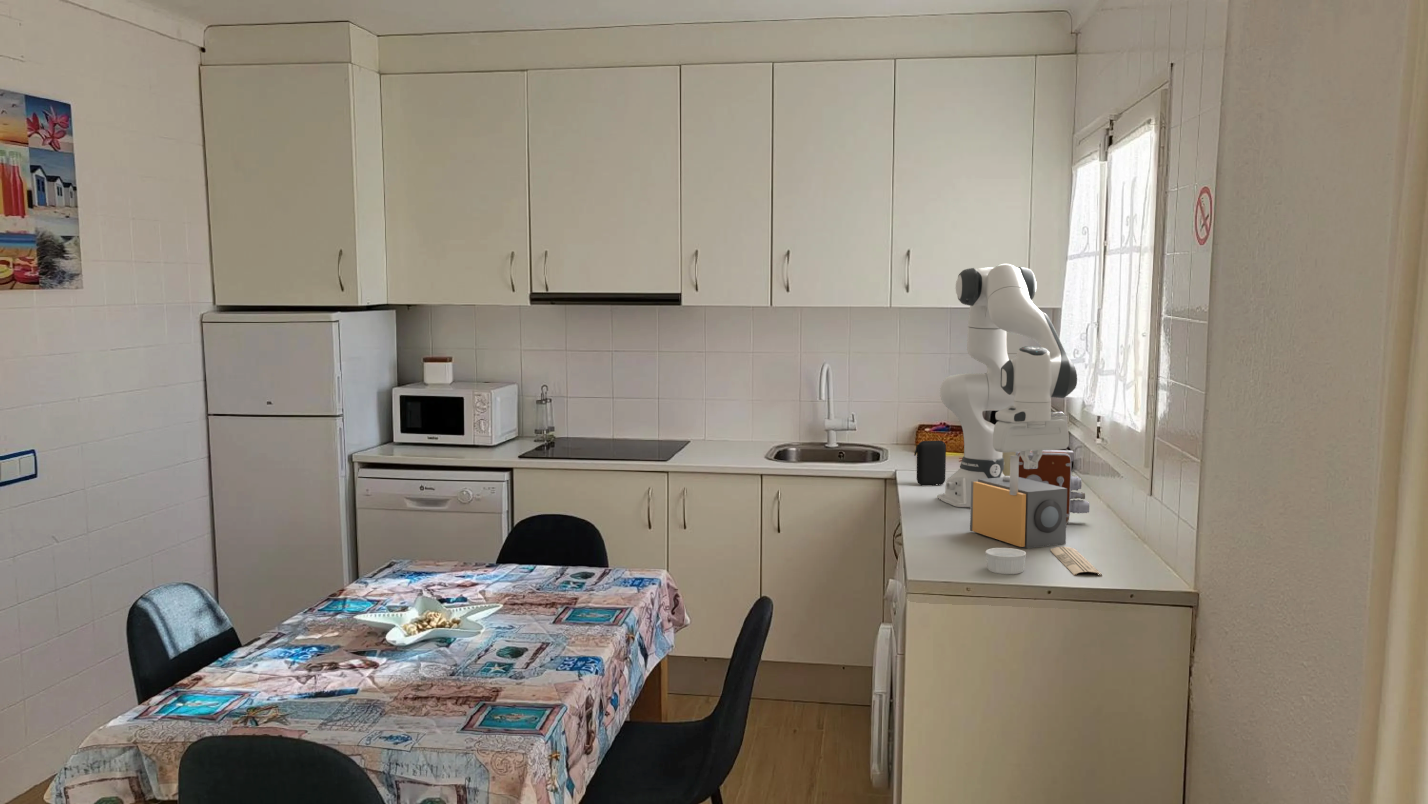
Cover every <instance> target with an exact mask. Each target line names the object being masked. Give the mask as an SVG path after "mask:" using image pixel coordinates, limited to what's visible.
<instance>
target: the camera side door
mask: <svg viewBox="0 0 1428 804" xmlns="http://www.w3.org/2000/svg"><path fill="white" fill-rule="evenodd" d="M1018 474H1019V456H1010V490H1008V489H1004V488H1000V487H996V486H992V485H988V484H984V483H981V482H977V481H971V507H970V511H969V513H970V516H969V517H970V518H969V520H970V521H969V531H971V532H973V533H977V534H980V535H983V536H986V537H989V538H992V539H995V540H999V541H1002V542H1004V543H1007V544H1011V545H1013V546H1016V547H1019V548H1024V547H1025V515H1026V494H1023V493H1019V492H1018Z"/></svg>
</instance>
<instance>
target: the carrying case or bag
mask: <svg viewBox="0 0 1428 804" xmlns="http://www.w3.org/2000/svg"><path fill="white" fill-rule="evenodd" d="M946 445H947V444H946V443H945V441H943V440H922V441H920V442H919V443H918V444H917V445H916V447H915V449H914V454H913V456H914V457H915V456H916V481H917V484H918V485H919V486H922V485H932V486H940V485H939V484H942V485H944V483H946V469H947V468H946V467H947V465H946V464H947V463H946V459H947V458H946V457H947V456H946V455H947V446H946ZM936 484H938V485H936Z"/></svg>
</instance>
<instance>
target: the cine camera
mask: <svg viewBox="0 0 1428 804" xmlns="http://www.w3.org/2000/svg"><path fill="white" fill-rule="evenodd" d="M1016 456H1019V474H1018V477H1021V478H1025V479H1029V480H1034V481H1038V482H1042V483H1046V484H1050V485H1055V486H1059V487H1063V488H1067V514H1066V525H1067V524H1068V523H1069V521H1070V515H1071V513H1072V514H1088V513H1089V512H1090V501H1088V500H1085V499H1086V492H1084V491H1083V492H1078V491H1079V490H1081V489H1082V485H1083V484H1082V482H1083V481H1082V478H1081V477H1079V476H1078V475H1077V476H1073V475H1072V462H1074V461H1075V452H1074V451H1073V450H1068V449H1054V450H1042V456H1041V458H1040V460H1039V461H1038V468H1037V469H1024V461H1023V460H1022V458H1021V456H1020V452H1016ZM1033 456H1034V454H1033V453H1032V451H1030V455H1028V458H1029V460H1030V461H1031V460H1032V458H1033Z"/></svg>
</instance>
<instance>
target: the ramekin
mask: <svg viewBox="0 0 1428 804" xmlns="http://www.w3.org/2000/svg"><path fill="white" fill-rule="evenodd" d="M985 556H986V567H987V568H986V569H987V570H988V571H990V572H991V573H995V574H999V575H1017V574H1021V573H1023V571H1025V561H1026V557H1027V552H1026V551H1025V550H1021V549H1017V548H1011V547H1010V548H1009V547H992V548H989V549H988V548H987V549H986V550H985Z"/></svg>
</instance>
